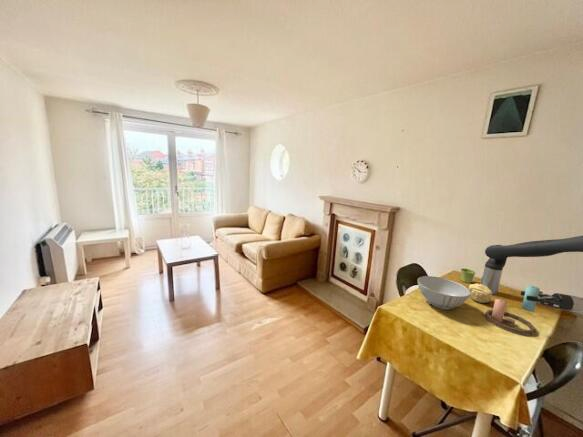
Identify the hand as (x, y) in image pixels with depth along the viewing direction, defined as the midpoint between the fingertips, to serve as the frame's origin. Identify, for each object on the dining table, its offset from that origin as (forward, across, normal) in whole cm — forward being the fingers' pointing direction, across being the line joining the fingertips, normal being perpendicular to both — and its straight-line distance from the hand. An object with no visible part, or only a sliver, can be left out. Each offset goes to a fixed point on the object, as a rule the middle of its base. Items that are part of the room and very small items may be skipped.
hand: (524, 295), depth 119 cm
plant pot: (+6, -57, +18) cm, 60 cm away
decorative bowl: (+33, -9, +18) cm, 39 cm away
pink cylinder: (+8, -1, +18) cm, 20 cm away
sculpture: (+8, -26, +18) cm, 32 cm away
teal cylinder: (-3, 0, +7) cm, 7 cm away
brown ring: (+3, -2, +18) cm, 18 cm away
